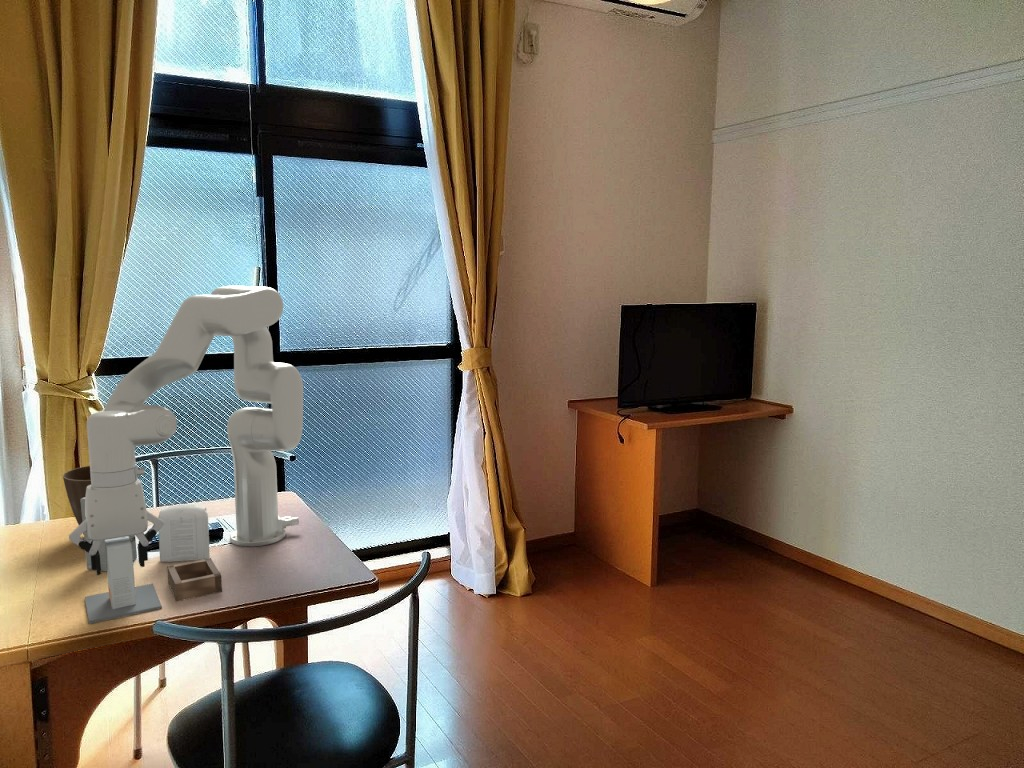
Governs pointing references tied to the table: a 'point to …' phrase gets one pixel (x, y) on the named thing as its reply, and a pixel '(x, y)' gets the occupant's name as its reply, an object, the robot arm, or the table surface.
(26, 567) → the table surface
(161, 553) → the photo printer
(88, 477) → the plant pot
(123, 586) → the skincare box
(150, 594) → the grey mat
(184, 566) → the frame
